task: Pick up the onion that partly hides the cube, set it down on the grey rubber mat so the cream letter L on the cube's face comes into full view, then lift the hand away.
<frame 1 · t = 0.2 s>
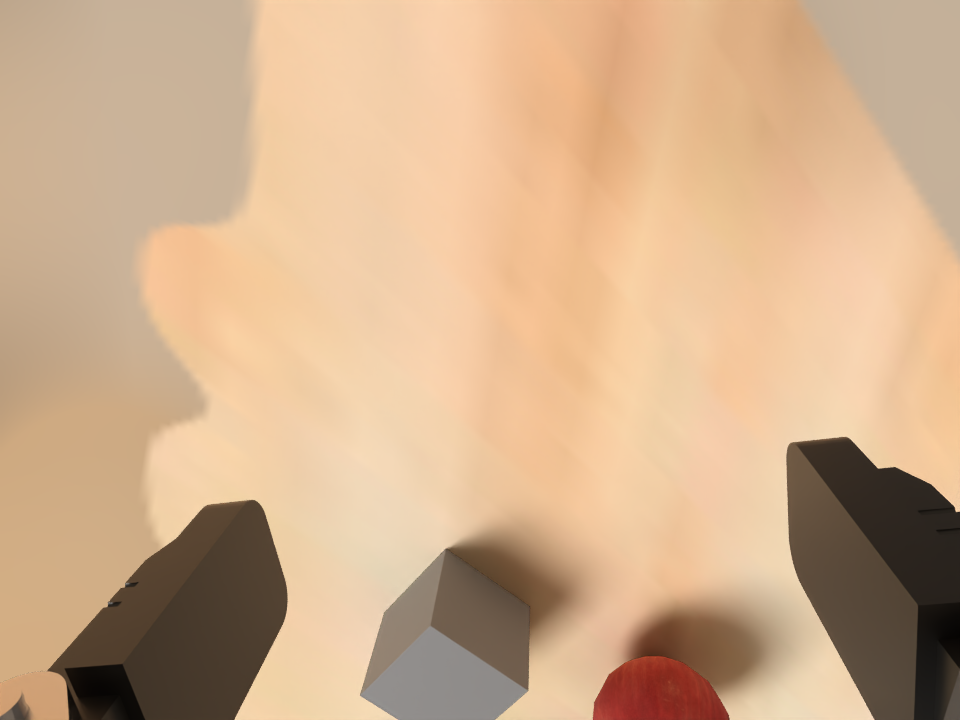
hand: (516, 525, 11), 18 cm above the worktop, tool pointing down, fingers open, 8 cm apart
onion: (647, 660, 34), on the worktop
marked cube: (456, 608, 34), on the worktop
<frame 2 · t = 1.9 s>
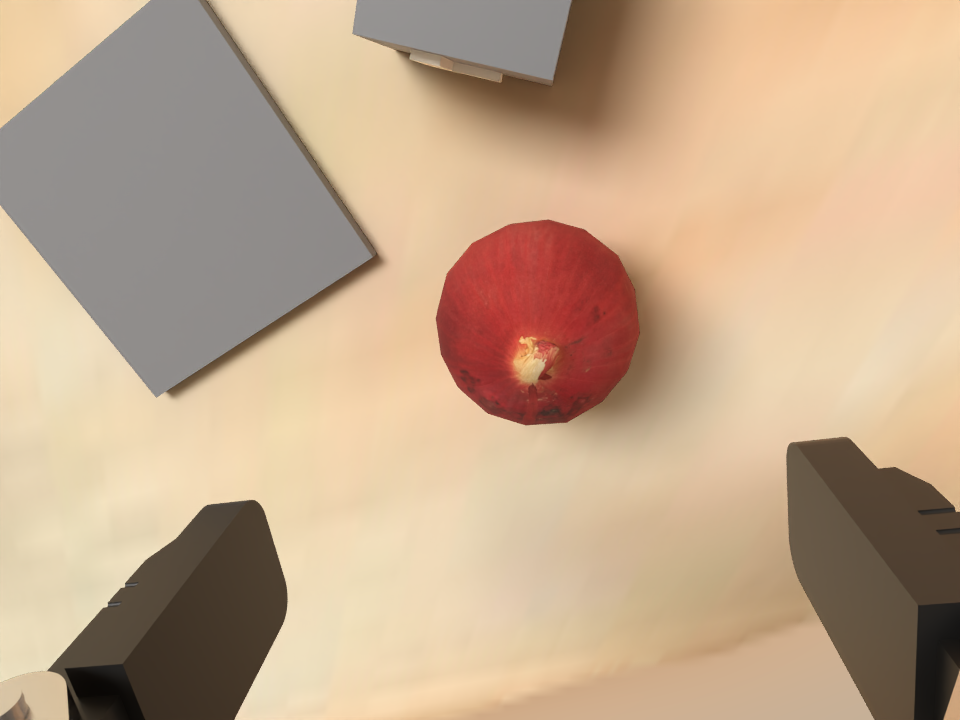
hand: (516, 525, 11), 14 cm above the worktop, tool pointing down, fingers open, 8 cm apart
mat: (176, 206, 24), on the worktop
onion: (538, 290, 24), on the worktop
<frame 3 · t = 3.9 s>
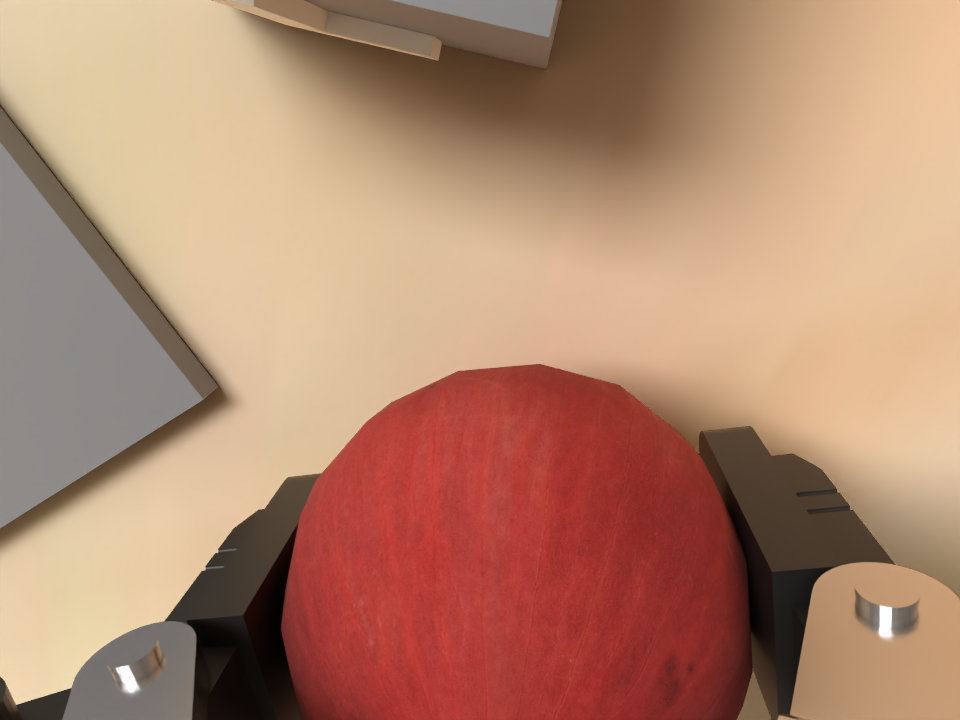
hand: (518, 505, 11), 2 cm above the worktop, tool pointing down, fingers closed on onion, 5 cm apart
onion: (523, 454, 13), on the worktop, touching gripper
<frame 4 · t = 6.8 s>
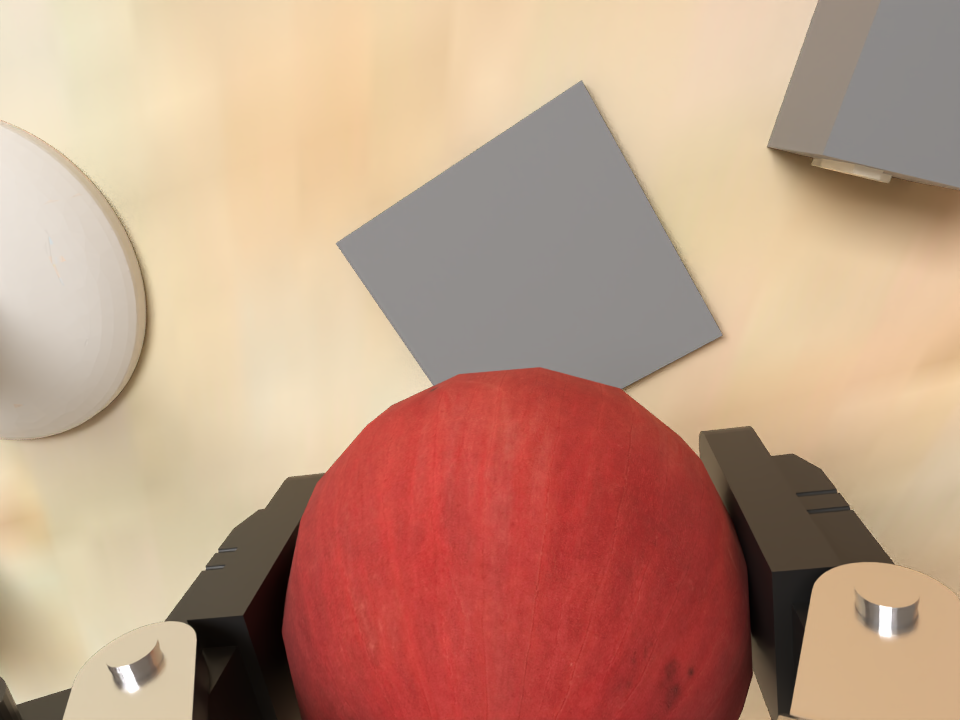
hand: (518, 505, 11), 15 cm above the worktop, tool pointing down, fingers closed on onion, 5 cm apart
mat: (529, 285, 26), on the worktop
onion: (523, 456, 13), point 13 cm above the worktop, touching gripper
marked cube: (869, 85, 23), on the worktop
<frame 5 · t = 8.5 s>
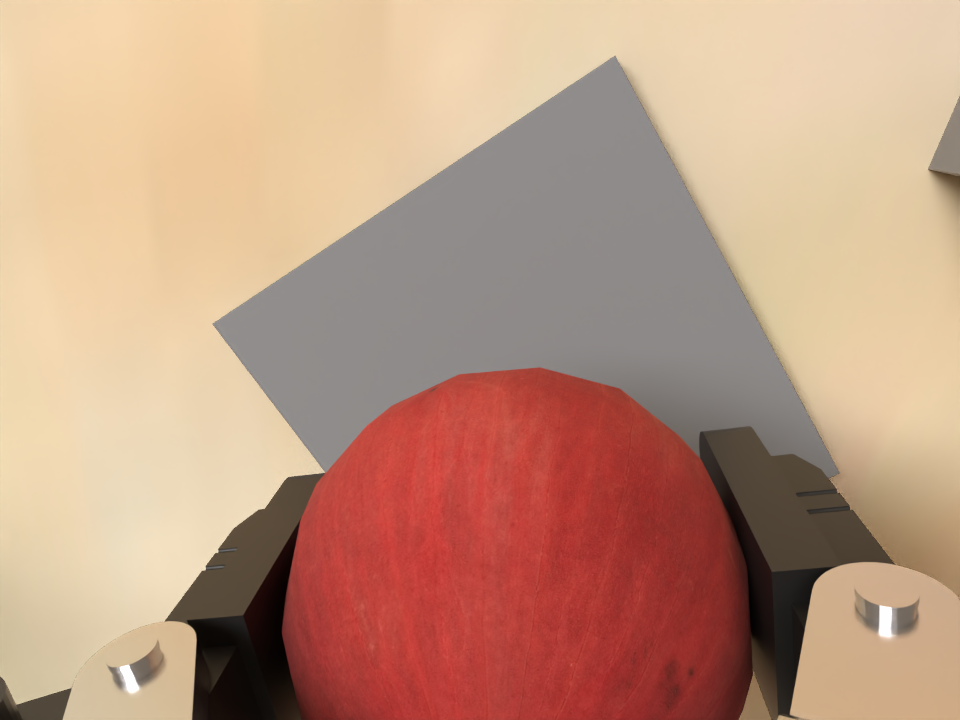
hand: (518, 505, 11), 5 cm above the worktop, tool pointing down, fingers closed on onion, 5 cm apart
mat: (525, 388, 16), on the worktop
onion: (523, 456, 13), point 3 cm above the worktop, touching gripper
when the fingers open (3 cm above the worktop, at t = 9.8 s): onion drops 1 cm, resting on mat.
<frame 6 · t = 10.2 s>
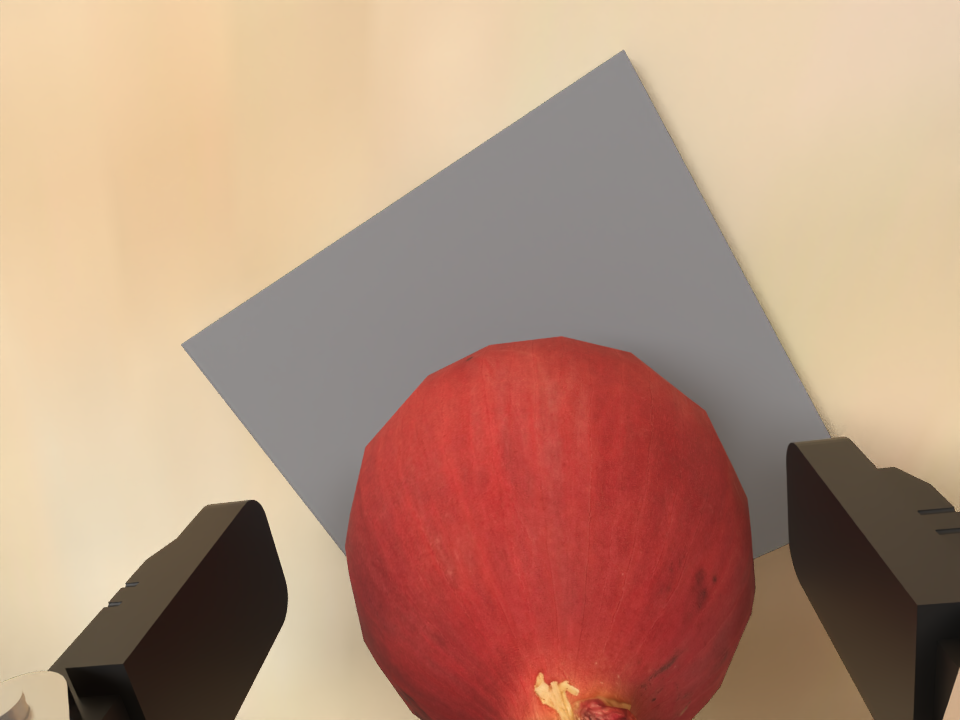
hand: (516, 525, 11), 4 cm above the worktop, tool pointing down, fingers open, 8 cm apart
mat: (524, 414, 15), on the worktop
onion: (529, 422, 14), resting on mat
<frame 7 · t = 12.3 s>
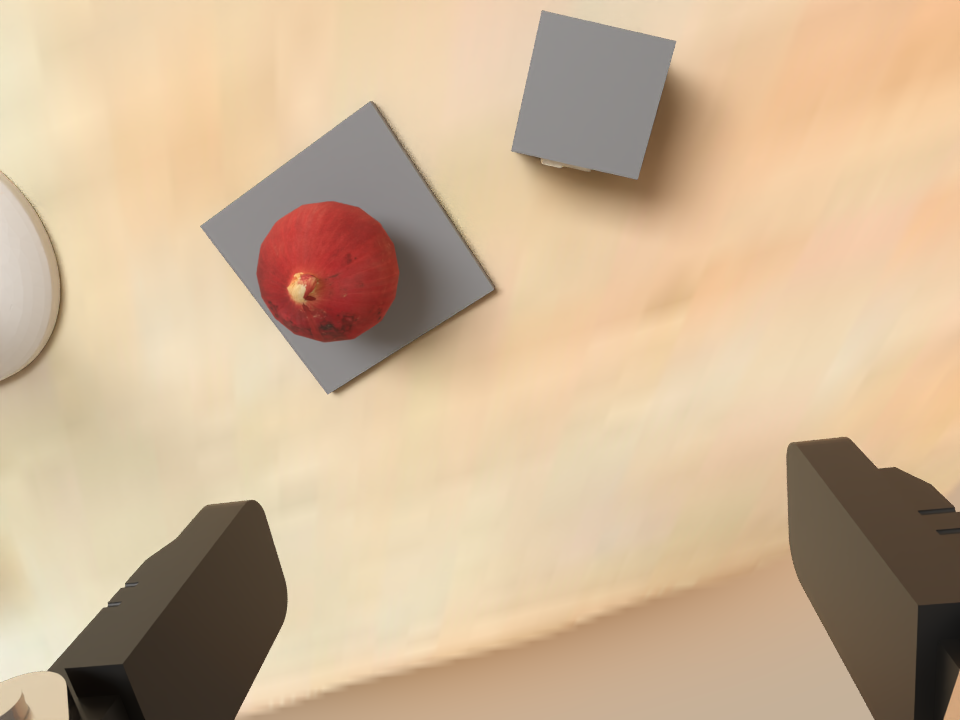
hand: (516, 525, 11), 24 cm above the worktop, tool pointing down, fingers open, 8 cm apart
mat: (350, 255, 34), on the worktop
onion: (351, 256, 33), resting on mat
marked cube: (580, 101, 31), on the worktop
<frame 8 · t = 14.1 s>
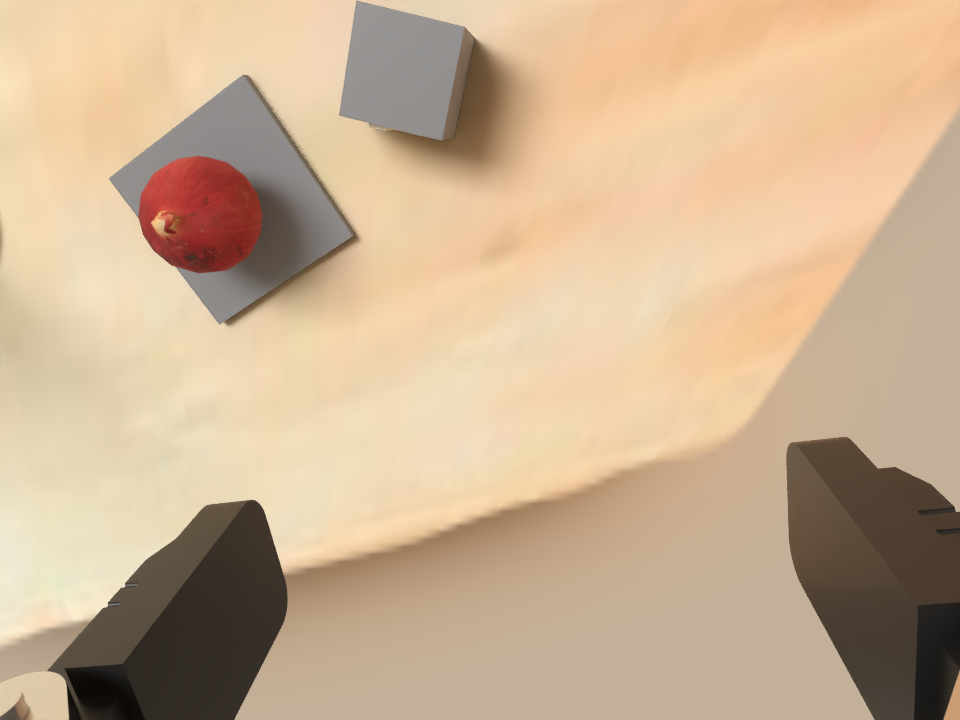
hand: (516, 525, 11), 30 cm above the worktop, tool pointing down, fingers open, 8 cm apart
mat: (234, 206, 40), on the worktop
onion: (234, 206, 40), resting on mat
marked cube: (418, 77, 37), on the worktop
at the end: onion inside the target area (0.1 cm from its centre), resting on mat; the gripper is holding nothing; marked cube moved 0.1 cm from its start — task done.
